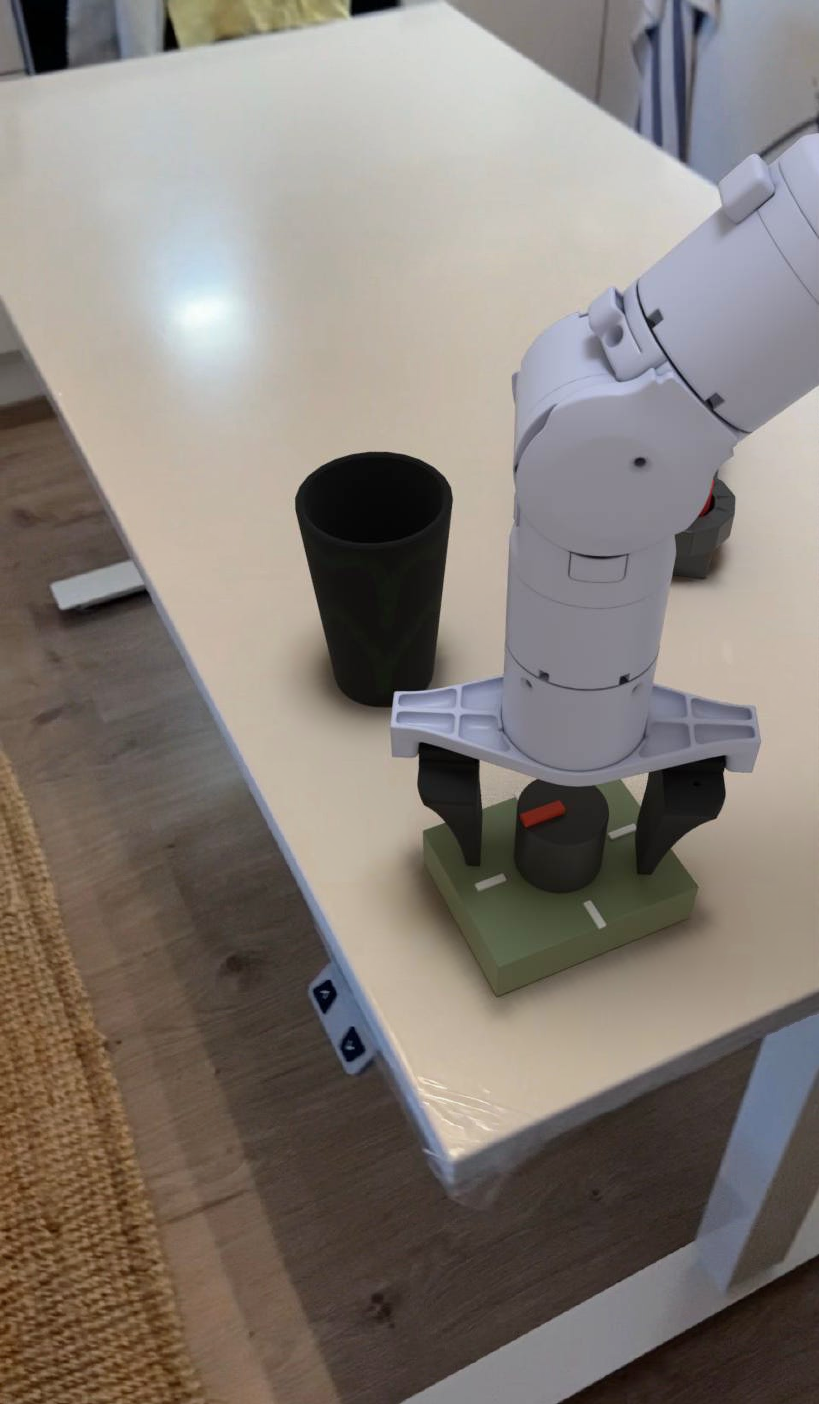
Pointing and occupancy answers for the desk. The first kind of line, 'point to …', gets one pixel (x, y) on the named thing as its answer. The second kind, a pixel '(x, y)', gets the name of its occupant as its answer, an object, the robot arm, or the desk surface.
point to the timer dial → (560, 835)
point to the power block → (705, 533)
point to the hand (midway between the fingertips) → (558, 852)
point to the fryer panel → (553, 897)
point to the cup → (377, 568)
